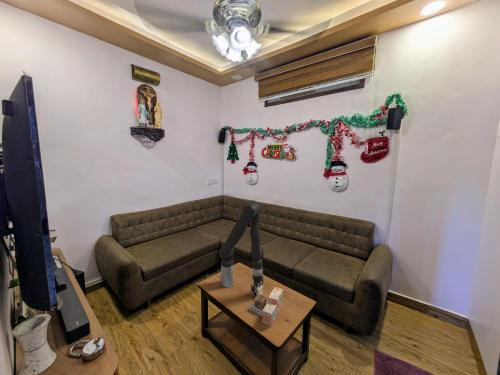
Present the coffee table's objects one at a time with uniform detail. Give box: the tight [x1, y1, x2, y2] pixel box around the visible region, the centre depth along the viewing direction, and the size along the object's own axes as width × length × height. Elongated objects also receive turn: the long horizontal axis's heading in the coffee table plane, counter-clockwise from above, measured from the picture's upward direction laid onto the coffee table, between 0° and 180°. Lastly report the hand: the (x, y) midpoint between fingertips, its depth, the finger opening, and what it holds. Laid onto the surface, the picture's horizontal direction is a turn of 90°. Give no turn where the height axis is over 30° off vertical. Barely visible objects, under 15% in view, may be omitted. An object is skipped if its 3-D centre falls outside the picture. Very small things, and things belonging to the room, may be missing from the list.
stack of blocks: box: [261, 286, 284, 327], centre depth 137 cm, size 21×6×12 cm, turn 152°
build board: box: [248, 301, 268, 317], centre depth 143 cm, size 11×12×1 cm
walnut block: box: [253, 294, 267, 310], centre depth 142 cm, size 6×6×6 cm
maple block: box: [251, 285, 264, 298], centre depth 156 cm, size 6×6×6 cm
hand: (257, 292), depth 156 cm, fingers closed on maple block, 6 cm apart
